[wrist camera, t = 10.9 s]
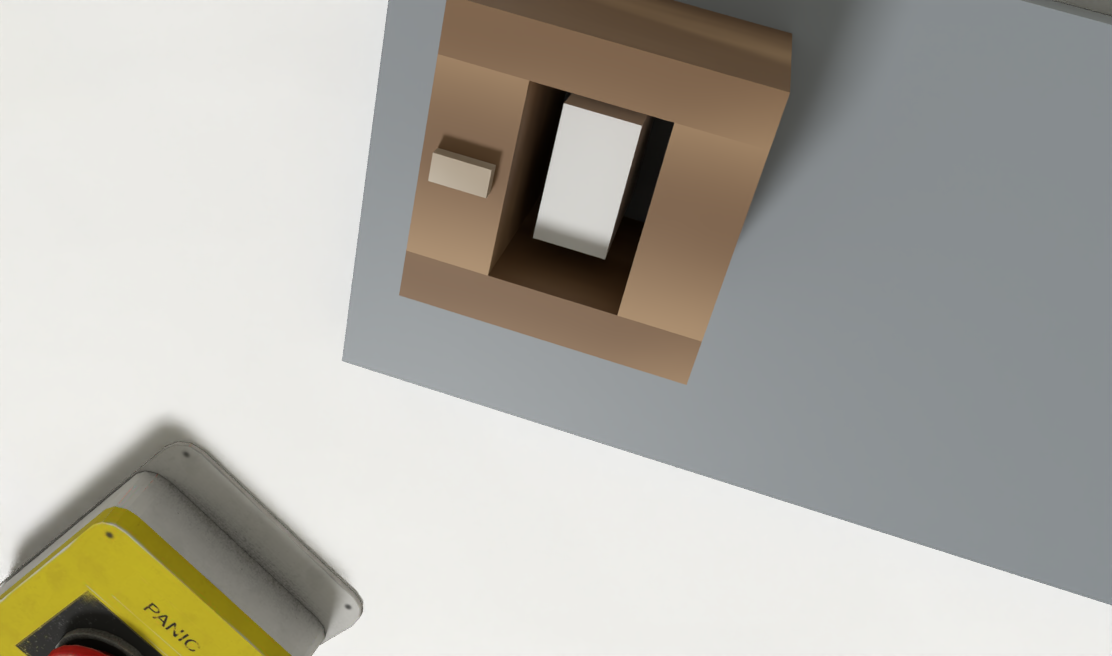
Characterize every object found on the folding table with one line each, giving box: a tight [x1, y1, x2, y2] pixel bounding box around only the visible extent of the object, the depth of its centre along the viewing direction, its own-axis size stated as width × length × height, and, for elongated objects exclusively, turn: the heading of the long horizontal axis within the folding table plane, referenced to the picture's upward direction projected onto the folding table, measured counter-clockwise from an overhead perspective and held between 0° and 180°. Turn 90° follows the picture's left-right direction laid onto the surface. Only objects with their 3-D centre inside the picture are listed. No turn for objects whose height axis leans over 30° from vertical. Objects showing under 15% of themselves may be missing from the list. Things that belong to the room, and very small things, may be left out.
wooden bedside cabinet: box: [399, 0, 792, 385], centre depth 21 cm, size 6×6×5 cm
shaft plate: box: [342, 0, 1112, 605], centre depth 23 cm, size 24×14×6 cm, turn 77°
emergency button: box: [0, 442, 362, 656], centre depth 36 cm, size 9×4×15 cm
